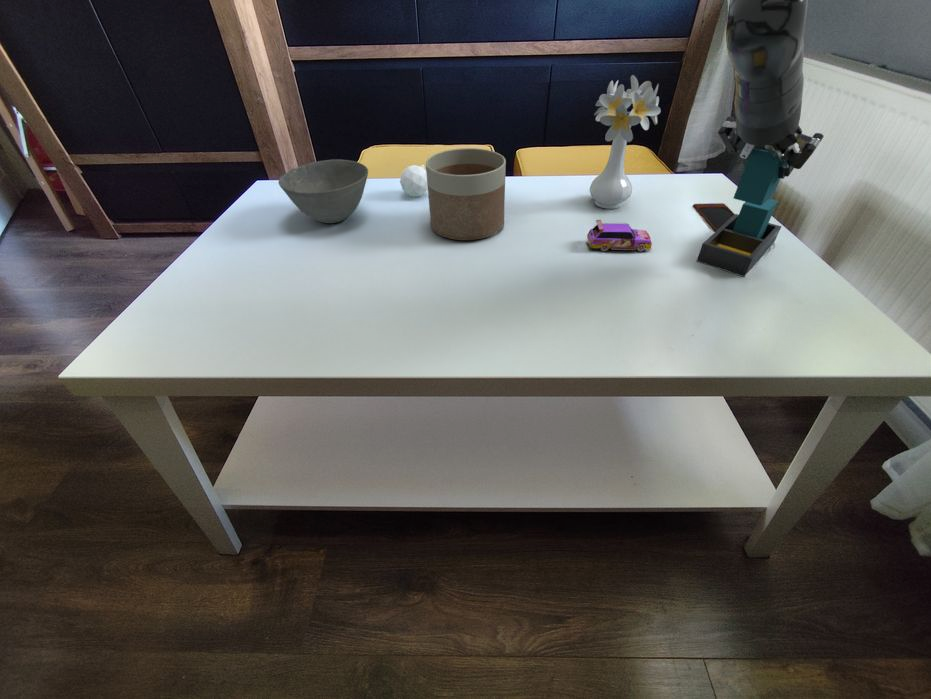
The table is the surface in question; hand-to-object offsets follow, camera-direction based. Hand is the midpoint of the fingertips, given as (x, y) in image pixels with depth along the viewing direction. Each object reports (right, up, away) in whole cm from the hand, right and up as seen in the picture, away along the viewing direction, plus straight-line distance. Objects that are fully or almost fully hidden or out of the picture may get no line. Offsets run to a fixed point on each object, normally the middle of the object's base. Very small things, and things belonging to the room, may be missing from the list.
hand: (767, 169), depth 74 cm
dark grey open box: (+3, -11, +13) cm, 17 cm away
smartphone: (+6, -2, +24) cm, 24 cm away
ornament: (-62, +8, +38) cm, 73 cm away
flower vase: (-16, +4, +30) cm, 35 cm away
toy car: (-19, -9, +16) cm, 27 cm away
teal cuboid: (+5, -8, +15) cm, 18 cm away
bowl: (-80, 0, +29) cm, 85 cm away
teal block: (-1, -4, +2) cm, 5 cm away
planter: (-49, -3, +24) cm, 55 cm away
